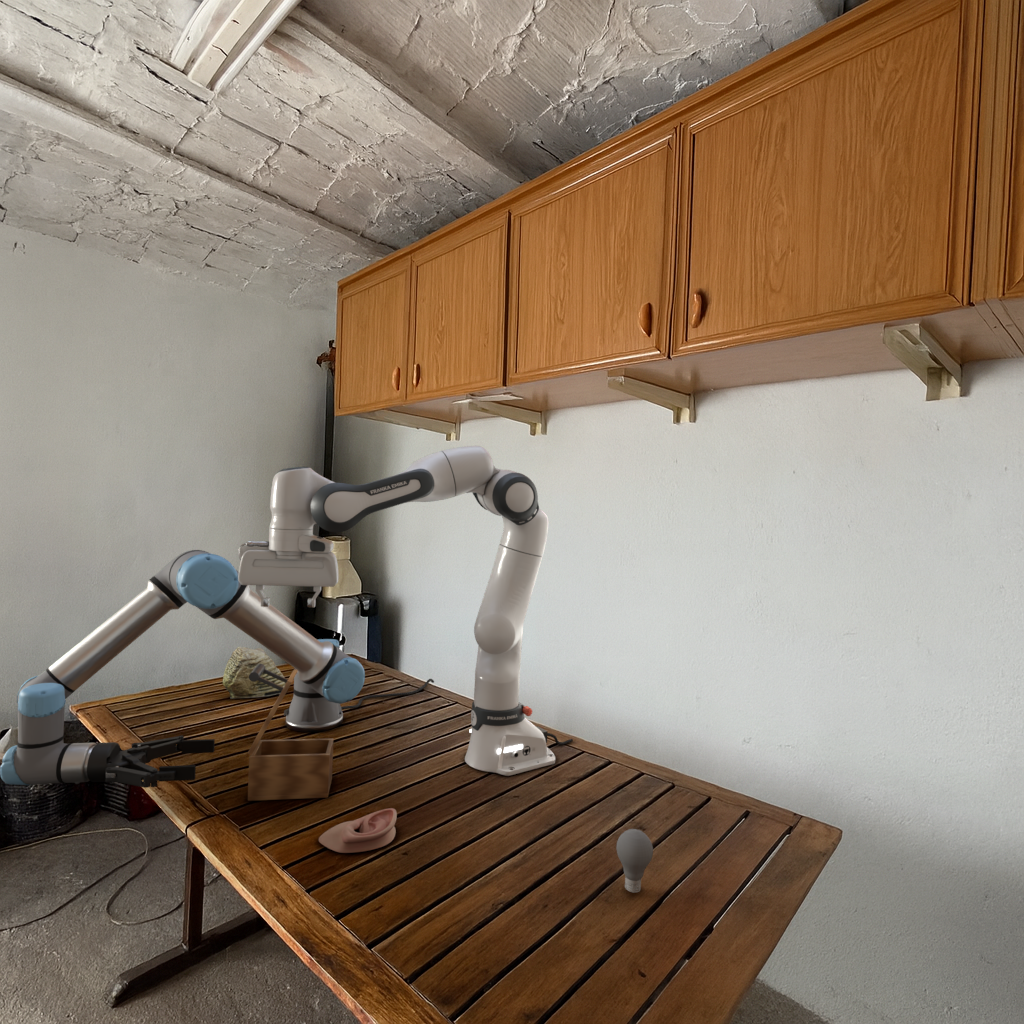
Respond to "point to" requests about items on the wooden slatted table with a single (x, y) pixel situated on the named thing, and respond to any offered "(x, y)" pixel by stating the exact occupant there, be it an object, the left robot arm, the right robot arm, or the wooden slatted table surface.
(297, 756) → the chest
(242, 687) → the fossil
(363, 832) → the anatomical model
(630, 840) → the light bulb
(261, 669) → the lid
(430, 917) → the wooden slatted table surface
